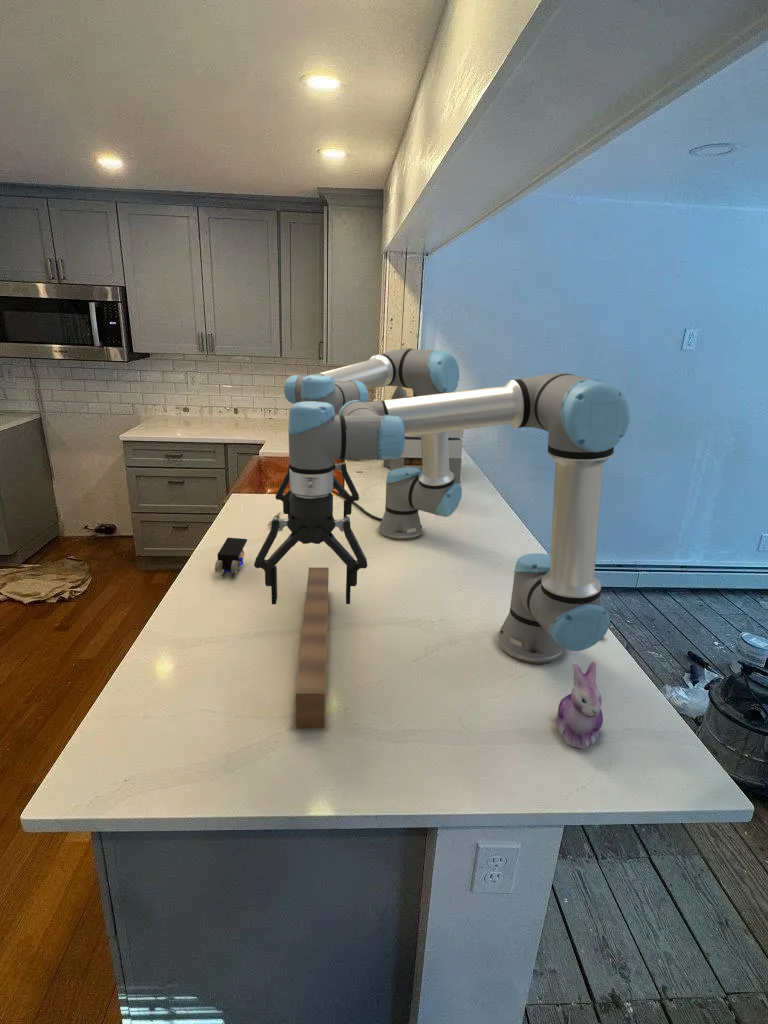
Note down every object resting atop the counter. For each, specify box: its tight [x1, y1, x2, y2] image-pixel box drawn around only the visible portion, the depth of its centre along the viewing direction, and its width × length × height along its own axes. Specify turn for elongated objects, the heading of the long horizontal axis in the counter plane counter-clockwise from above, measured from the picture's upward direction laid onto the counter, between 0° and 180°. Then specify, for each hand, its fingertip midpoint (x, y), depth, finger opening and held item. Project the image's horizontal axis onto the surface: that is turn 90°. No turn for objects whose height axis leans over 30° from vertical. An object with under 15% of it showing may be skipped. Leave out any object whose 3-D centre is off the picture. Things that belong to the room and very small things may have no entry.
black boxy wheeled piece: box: [214, 537, 248, 578], centre depth 166 cm, size 7×8×15 cm
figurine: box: [556, 661, 604, 749], centre depth 106 cm, size 9×10×15 cm
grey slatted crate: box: [383, 386, 465, 484], centre depth 268 cm, size 34×33×41 cm
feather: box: [266, 512, 281, 527], centre depth 211 cm, size 2×28×2 cm
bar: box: [295, 566, 330, 729], centre depth 130 cm, size 53×5×8 cm, turn 5°
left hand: (317, 526), depth 141 cm, fingers open, 13 cm apart
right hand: (311, 600), depth 106 cm, fingers open, 13 cm apart
